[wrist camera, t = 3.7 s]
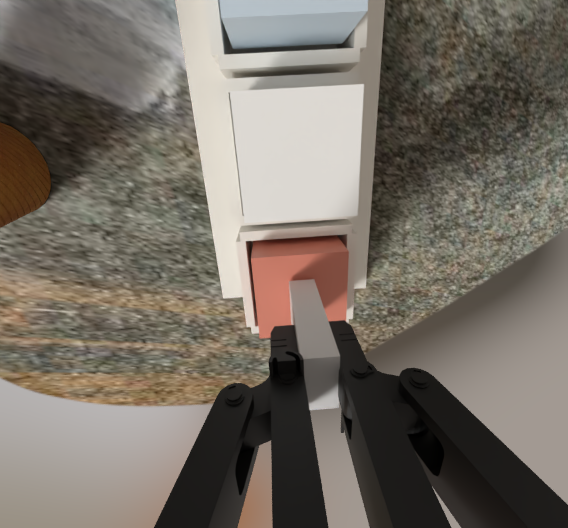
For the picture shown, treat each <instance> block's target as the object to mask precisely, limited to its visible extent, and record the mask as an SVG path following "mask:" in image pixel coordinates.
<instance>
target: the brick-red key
mask: <svg viewBox="0 0 568 528" xmlns="http://www.w3.org/2000/svg"><path fill="white" fill-rule="evenodd" d="M348 261H349V251H348V249H347V248H346V247H345V245H344V244H343V243H342V241H341V240H340V239H339V237H338V236H337V235H328V236H314V237H300V238H285V239H271V240H256V241H253V247H252V254H251V264H252V273H253V282H254V291H255V300H256V309H257V318H258V328H259V337H260V338H271V331H272V330H273V328H274V326H285V325H292V324H291V311H290V293H289V281H295V280H309V279H314V280H315V283H316V286H317V289H318V292H319V295H320V298H321V301H322V304H323V307H324V310H325V313H326V316H327V319H328V321H341V320H345V321H346V312H347V287H348Z"/></svg>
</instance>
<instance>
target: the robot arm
mask: <svg viewBox="0 0 568 528" xmlns="http://www.w3.org/2000/svg"><path fill="white" fill-rule="evenodd" d="M289 293H290V311H291V324H292V325H285V326H274V328H273V330H272V331H271V357H270V359H269V370H270V376H269V377H268V379H267V380H266V381H265V382H263V383H262V384H260V385H258V386H255V387H252V388H250V387H248V386H247V385H245V384H242V383H234V384H231V385H228V386H226V387H225V388H223V389H222V390H221V391H220V393H219V394H218V396H217V398H216V400H215V402H214V404H213V406H212V408H211V410H210V412H209V415H208V416H207V419H206V420H205V423H204V425H203V427H202V429H201V431H200V433H199V435H198V437H197V439H196V441H195V444H194V446H193V448H192V450H191V452H190V454H189V456H188V458H187V460H186V462H185V464H184V466H183V468H182V470H181V473H180V475H179V477H178V479H177V481H176V483H175V485H174V487H173V489H172V491H171V493H170V496H169V498H168V500H167V502H166V504H165V506H164V508H163V510H162V512H161V514H160V516H159V518H158V521H157V522H156V525H155V527H154V528H237V526H238V523H239V519H240V516H241V512H242V508H243V504H244V501H245V496H246V493H247V489H248V486H249V482H250V478H251V474H252V471H253V467H254V463H255V460H256V456H257V452H258V448H259V445H261V444H263V443H266V442H268V441H270V440H271V450H272V514H273V528H328V522H327V516H326V509H325V503H324V497H323V491H322V484H321V478H320V472H319V466H318V460H317V453H316V447H315V440H314V434H313V428H312V422H311V416H310V410H317V409H329V408H338V407H339V402H340V405H341V409H342V412H341V433H344V431H345V435H346V438H347V442H348V446H349V450H350V454H351V457H352V461H353V465H354V469H355V473H356V477H357V480H358V484H359V488H360V492H361V496H362V500H363V503H364V507H365V511H366V515H367V518H368V522H369V526H370V528H451V526H450V524H449V522H448V520H447V517H446V515H445V513H444V511H443V509H442V507H441V505H440V503H439V501H438V499H437V496H436V494H435V492H434V490H433V488H434V489H435V491H436V492H437V494H438V495H439V496H440V498H441V499H442V501H443V502H444V503H445V505H446V506H447V508H448V509H449V511H450V512H451V514H452V515H453V516H454V518H455V519H456V521H457V522H458V523H459V525H460V526H461V528H568V505H567V504H566V503H565V502H564V501H563V500H562V499H561V498H560V497H559V496H558V495H557V494H556V493H555V492H554V491H553V490H552V489H551V488H550V487H548V485H546V484H545V483H544V482H543V481H542V480H541V479H540V478H539V477H538V476H537V475H536V474H535V473H534V472H533V471H532V470H531V469H530V468H529V467H528V466H527V465H526V464H525V463H523V462H522V461H521V460H520V459H519V458H518V457H517V456H516V455H515V454H514V453H513V452H512V451H511V450H510V449H509V448H508V447H507V446H506V445H505V444H504V443H503V442H502V441H500V440H499V439H498V438H497V437H496V436H495V435H494V434H493V433H492V432H491V431H490V430H489V429H488V428H487V427H486V426H485V425H484V424H483V423H482V422H481V421H480V420H479V419H477V418H476V417H475V416H474V415H473V414H472V413H471V412H470V411H469V410H468V409H467V408H466V407H465V406H464V405H463V404H462V403H461V402H459V400H458V399H457V398H455V397H454V396H453V395H452V394H451V393H450V392H449V391H448V390H447V389H446V388H445V387H444V386H443V385H442V384H441V383H440V382H439V381H437V379H435V377H434V376H432V375H431V374H429V373H428V372H426V371H424V370H421V369H417V368H407V369H405V370H403V371H402V372H401V374H400V376H395V375H389V374H384V373H381V372H379V371H377V370H376V368H375V367H374V366H373V365H372V364H370V363H369V362H367V360H366V358H365V355H364V353H363V351H362V349H361V346H360V344H359V342H358V340H357V338H356V335H355V334H354V331H353V329H352V327H351V325H349V324H348V323H347V322H346V321H345V320H341V321H328V319H327V316H326V313H325V310H324V307H323V304H322V301H321V298H320V295H319V292H318V289H317V286H316V283H315V280H314V279H309V280H295V281H289ZM431 485H432V486H431ZM432 487H433V488H432Z"/></svg>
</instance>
